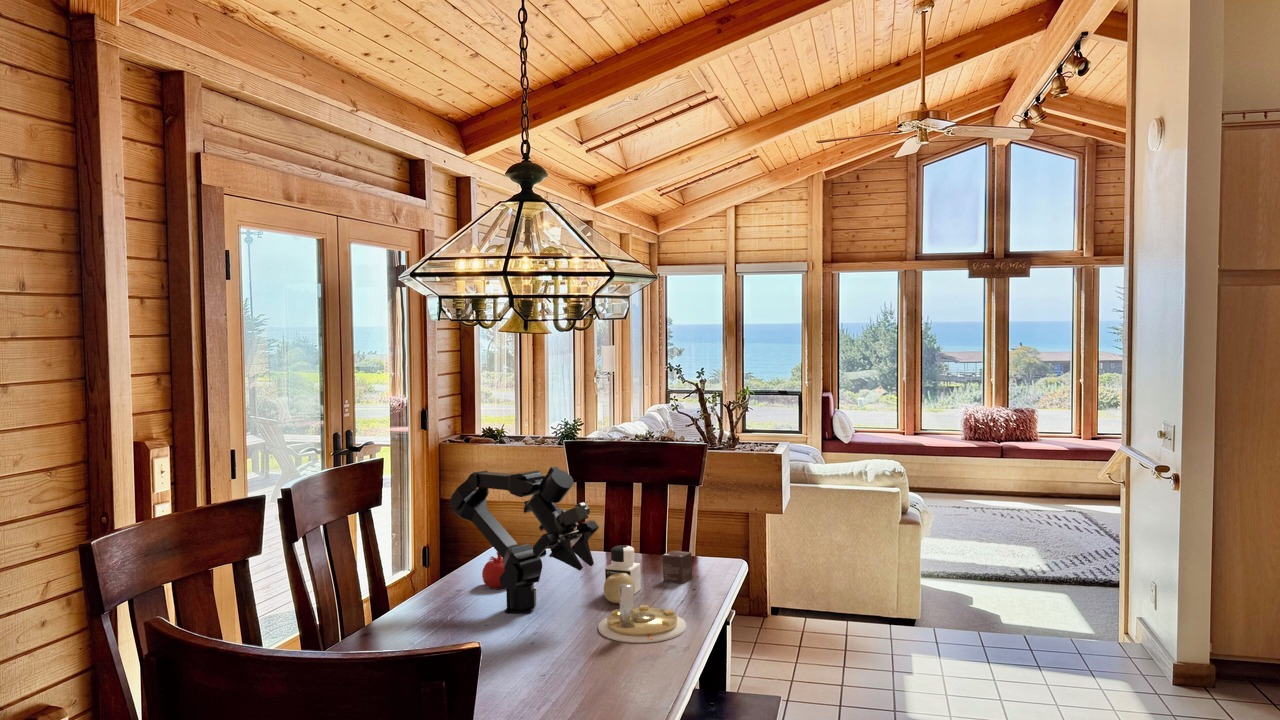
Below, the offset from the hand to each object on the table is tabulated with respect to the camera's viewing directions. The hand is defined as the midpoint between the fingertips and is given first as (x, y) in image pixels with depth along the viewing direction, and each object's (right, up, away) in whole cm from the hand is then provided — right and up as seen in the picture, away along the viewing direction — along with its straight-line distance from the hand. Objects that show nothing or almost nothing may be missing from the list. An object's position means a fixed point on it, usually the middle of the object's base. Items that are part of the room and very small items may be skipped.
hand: (587, 567), depth 195 cm
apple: (+7, -13, +18) cm, 24 cm away
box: (+23, -13, +36) cm, 45 cm away
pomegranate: (-26, -14, +35) cm, 46 cm away
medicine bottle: (+8, -13, +26) cm, 30 cm away
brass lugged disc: (+13, -13, -2) cm, 19 cm away
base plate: (+13, -13, -2) cm, 19 cm away
